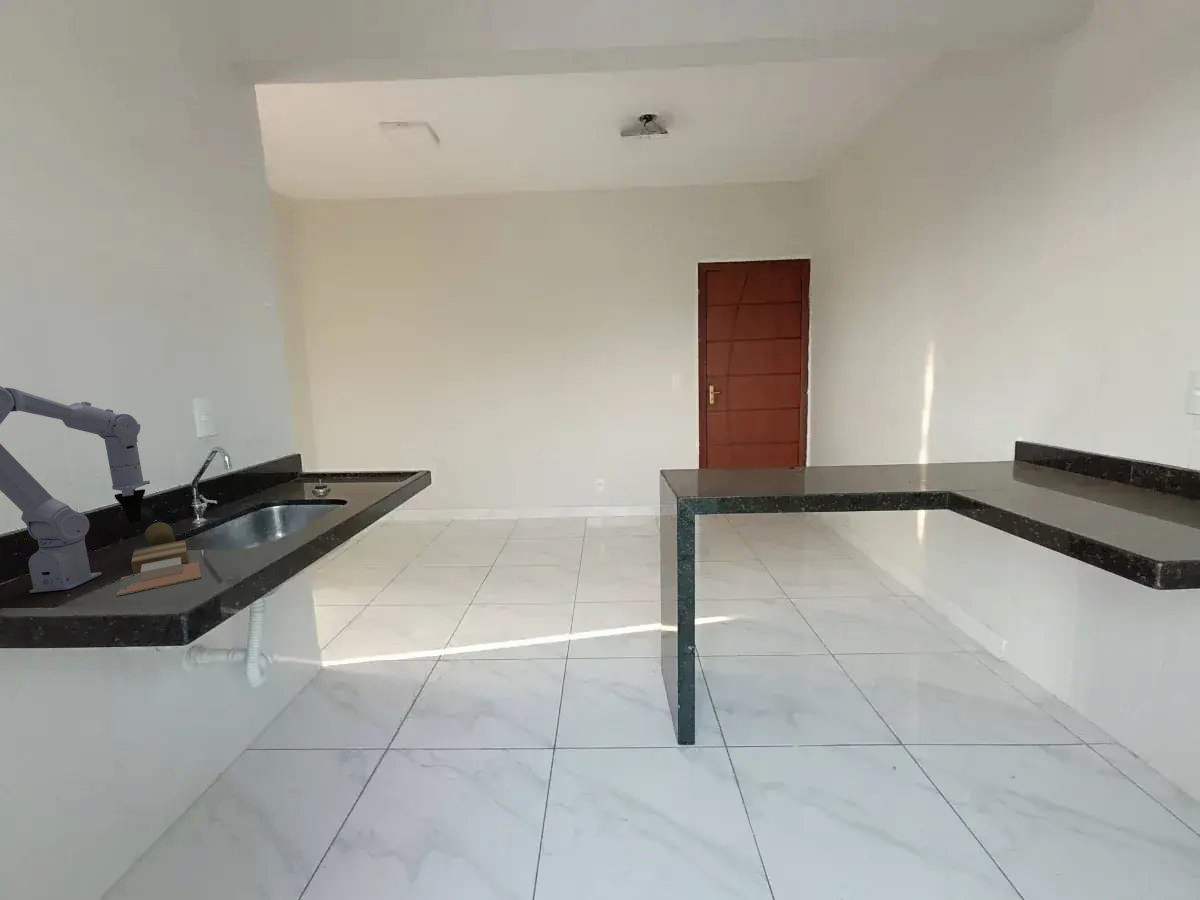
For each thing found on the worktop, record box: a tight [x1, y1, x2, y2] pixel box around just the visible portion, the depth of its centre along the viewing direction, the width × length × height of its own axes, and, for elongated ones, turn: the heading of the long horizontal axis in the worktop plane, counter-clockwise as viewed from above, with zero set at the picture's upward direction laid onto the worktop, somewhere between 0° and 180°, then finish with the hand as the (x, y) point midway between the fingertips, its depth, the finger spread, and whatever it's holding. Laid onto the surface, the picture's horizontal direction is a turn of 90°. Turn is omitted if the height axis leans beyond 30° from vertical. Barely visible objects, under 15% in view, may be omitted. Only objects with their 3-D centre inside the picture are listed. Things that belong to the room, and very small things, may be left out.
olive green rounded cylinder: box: [144, 521, 176, 547], centre depth 152 cm, size 6×6×11 cm
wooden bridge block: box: [130, 539, 189, 575], centre depth 139 cm, size 14×10×3 cm
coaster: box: [141, 557, 183, 581], centre depth 130 cm, size 7×7×2 cm
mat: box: [116, 561, 202, 596], centre depth 127 cm, size 14×14×1 cm
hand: (135, 521), depth 142 cm, fingers closed
